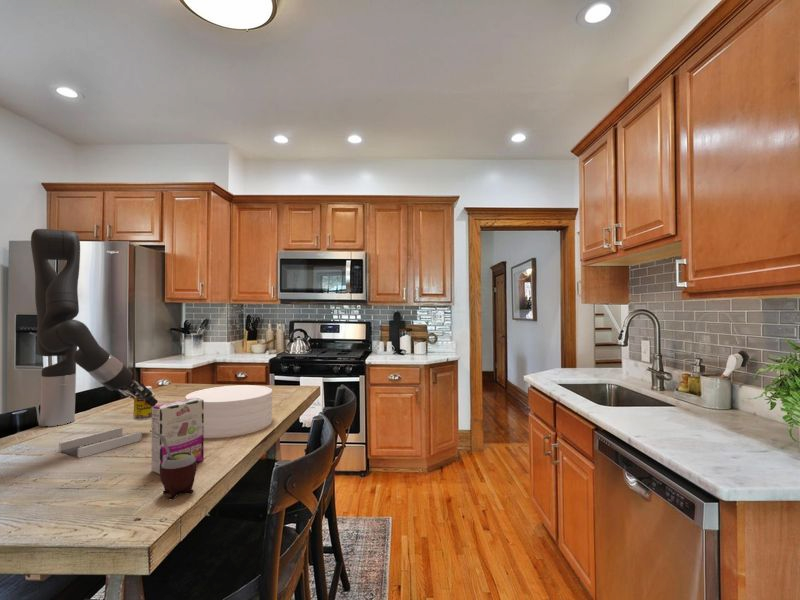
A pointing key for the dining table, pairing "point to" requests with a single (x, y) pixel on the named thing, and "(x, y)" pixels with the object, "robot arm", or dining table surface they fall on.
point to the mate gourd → (177, 471)
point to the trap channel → (74, 445)
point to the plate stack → (235, 409)
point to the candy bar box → (178, 430)
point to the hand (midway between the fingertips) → (149, 402)
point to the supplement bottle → (142, 408)
